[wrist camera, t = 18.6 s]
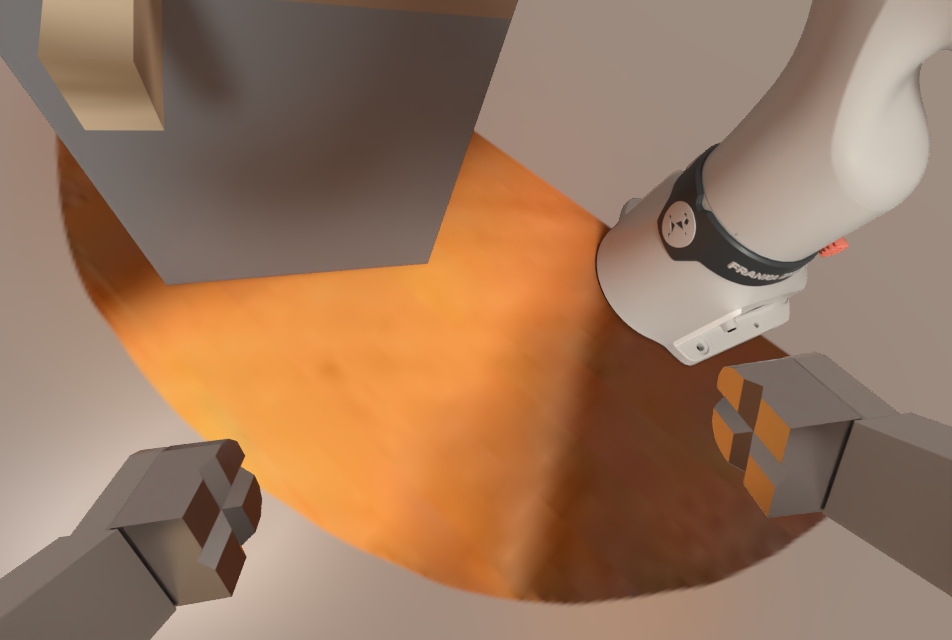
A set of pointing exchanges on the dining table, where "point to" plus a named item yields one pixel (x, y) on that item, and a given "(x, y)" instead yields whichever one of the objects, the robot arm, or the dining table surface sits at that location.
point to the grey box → (286, 131)
